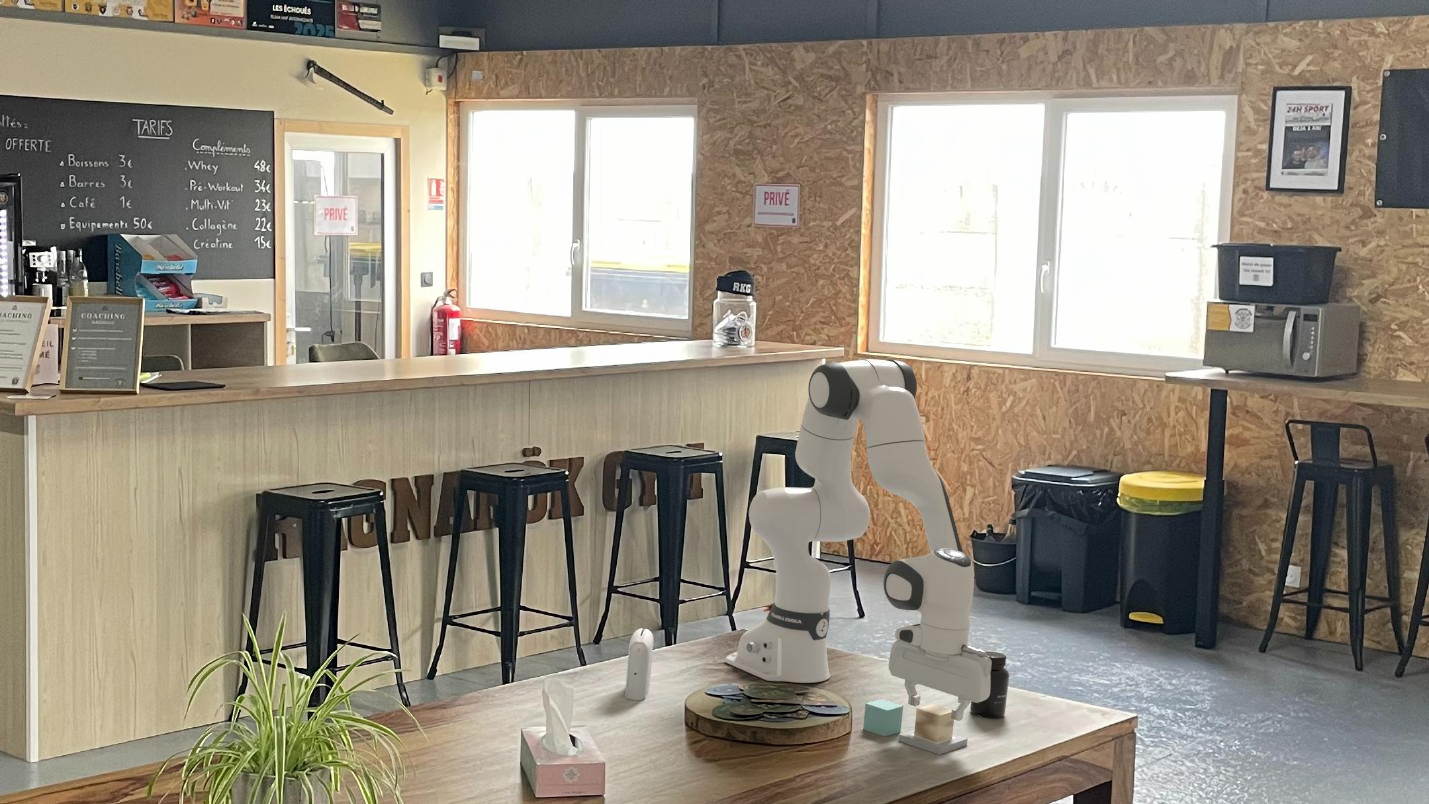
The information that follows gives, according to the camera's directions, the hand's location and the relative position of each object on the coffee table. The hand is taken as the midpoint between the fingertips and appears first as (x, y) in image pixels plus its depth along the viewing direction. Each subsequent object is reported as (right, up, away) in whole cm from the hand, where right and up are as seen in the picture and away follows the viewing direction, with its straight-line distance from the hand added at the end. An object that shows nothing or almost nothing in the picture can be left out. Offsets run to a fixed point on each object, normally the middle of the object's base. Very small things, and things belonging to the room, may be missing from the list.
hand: (934, 712), depth 290 cm
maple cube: (0, -4, 0) cm, 4 cm away
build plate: (0, -6, 0) cm, 6 cm away
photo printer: (-55, 0, +15) cm, 57 cm away
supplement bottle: (+13, -5, +21) cm, 26 cm away
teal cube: (-9, -4, +5) cm, 11 cm away
